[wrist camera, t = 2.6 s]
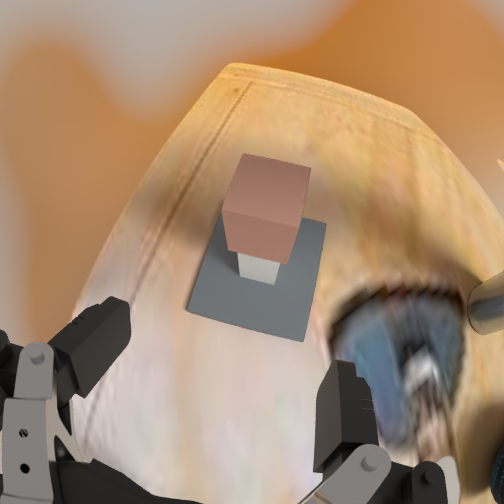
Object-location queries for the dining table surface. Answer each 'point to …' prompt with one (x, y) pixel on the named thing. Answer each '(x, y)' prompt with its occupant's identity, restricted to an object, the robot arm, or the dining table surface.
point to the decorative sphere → (498, 477)
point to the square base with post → (260, 284)
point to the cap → (265, 207)
